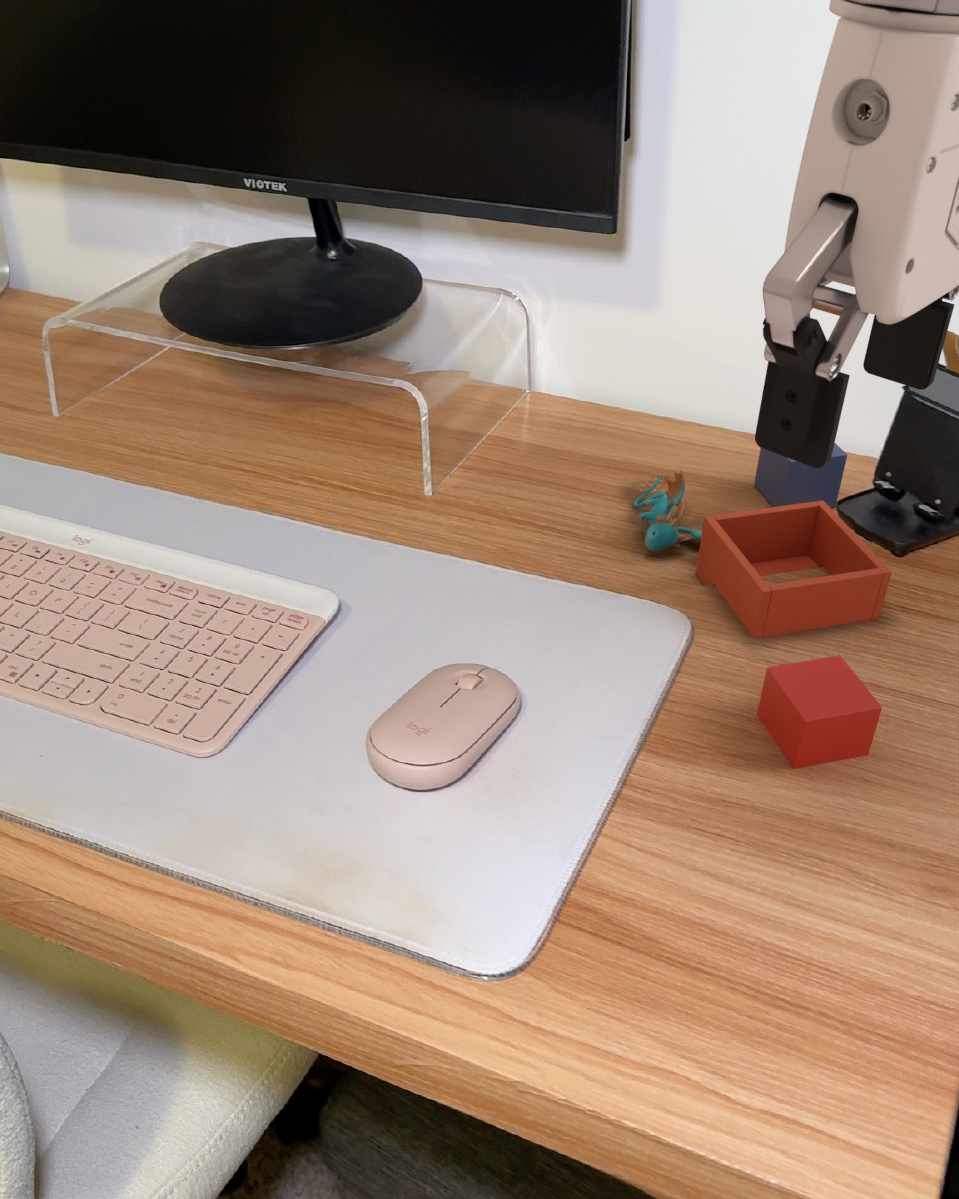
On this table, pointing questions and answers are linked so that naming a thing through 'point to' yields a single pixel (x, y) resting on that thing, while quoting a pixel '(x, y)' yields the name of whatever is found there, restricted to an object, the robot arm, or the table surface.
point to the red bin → (791, 568)
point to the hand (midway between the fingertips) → (846, 415)
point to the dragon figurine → (666, 516)
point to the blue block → (799, 479)
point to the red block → (818, 711)
